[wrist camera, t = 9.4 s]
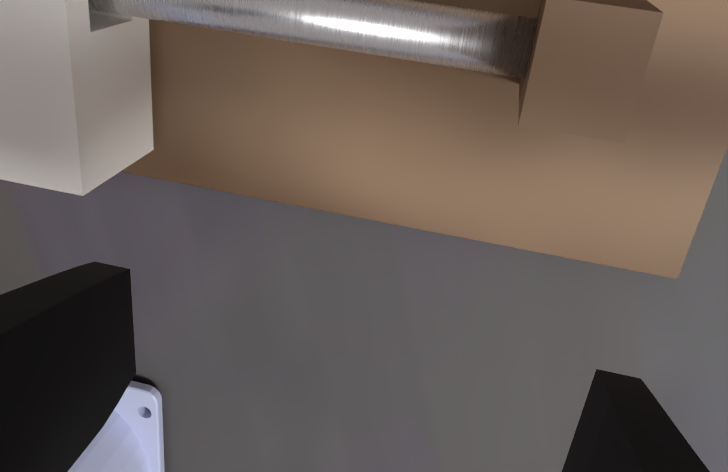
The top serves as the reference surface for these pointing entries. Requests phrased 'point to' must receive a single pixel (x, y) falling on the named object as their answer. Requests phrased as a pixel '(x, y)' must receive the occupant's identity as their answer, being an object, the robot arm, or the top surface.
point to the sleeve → (72, 94)
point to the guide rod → (361, 27)
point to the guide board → (467, 129)
